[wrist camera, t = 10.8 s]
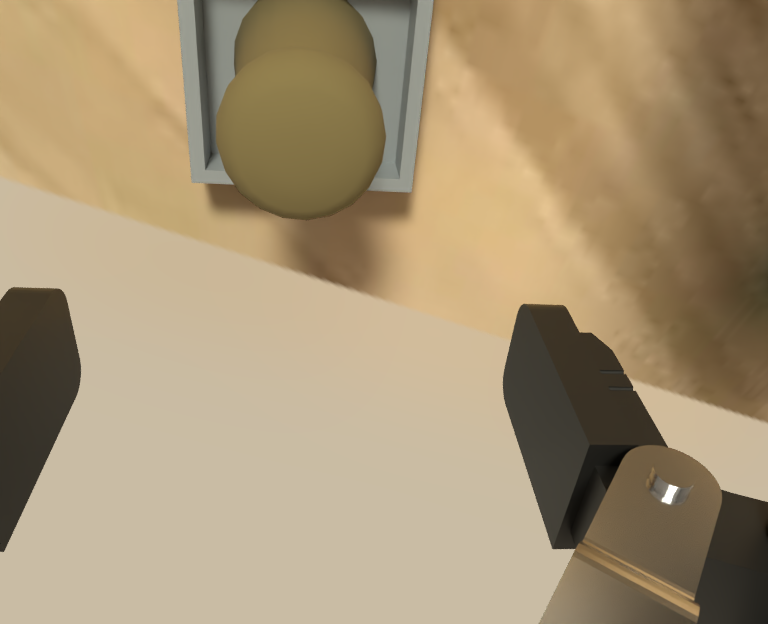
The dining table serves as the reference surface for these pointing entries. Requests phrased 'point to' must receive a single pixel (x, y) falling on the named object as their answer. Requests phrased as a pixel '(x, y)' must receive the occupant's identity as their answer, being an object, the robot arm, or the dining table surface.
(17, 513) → the robot arm
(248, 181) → the olive pawn
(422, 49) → the grey tray
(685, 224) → the dining table surface
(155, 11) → the dining table surface
